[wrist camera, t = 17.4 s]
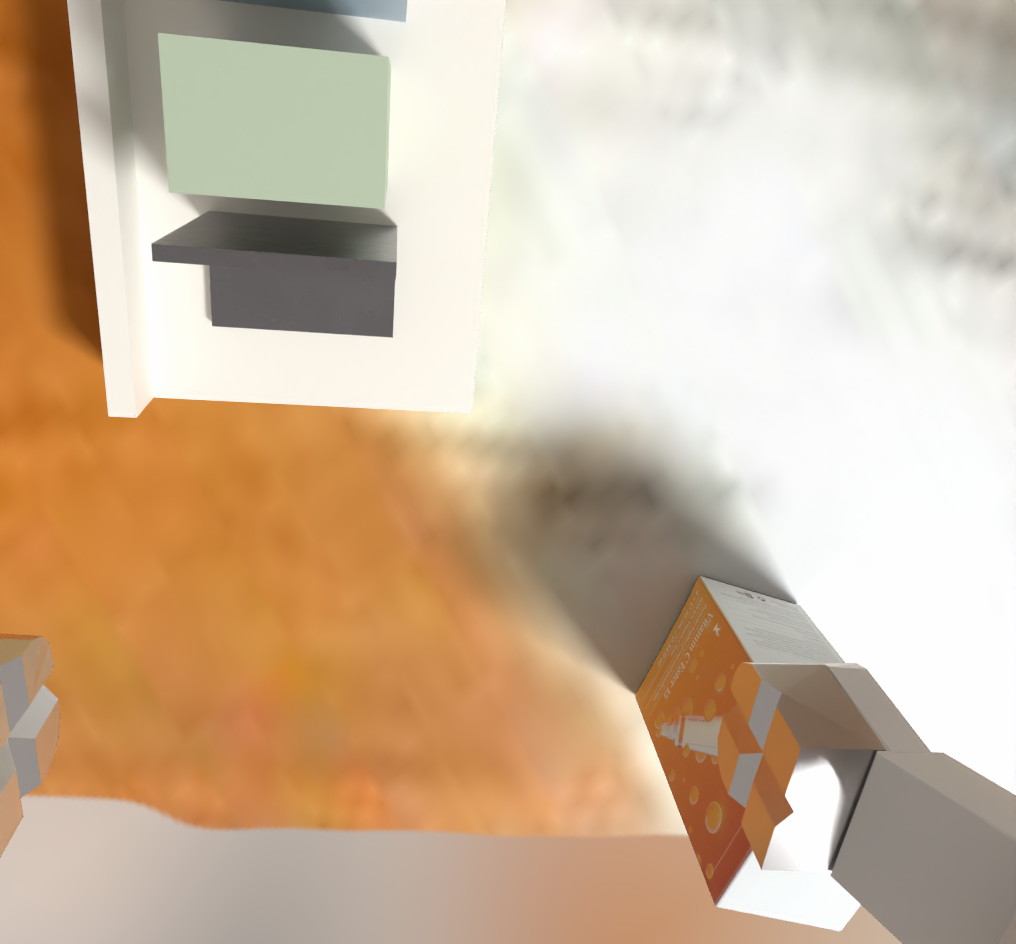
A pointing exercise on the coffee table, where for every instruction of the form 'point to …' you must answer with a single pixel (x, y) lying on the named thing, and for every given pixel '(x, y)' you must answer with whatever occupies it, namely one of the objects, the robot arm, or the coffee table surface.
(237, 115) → the sage green cuboid
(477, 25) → the slotted holder
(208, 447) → the coffee table surface
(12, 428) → the coffee table surface
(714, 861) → the small box
